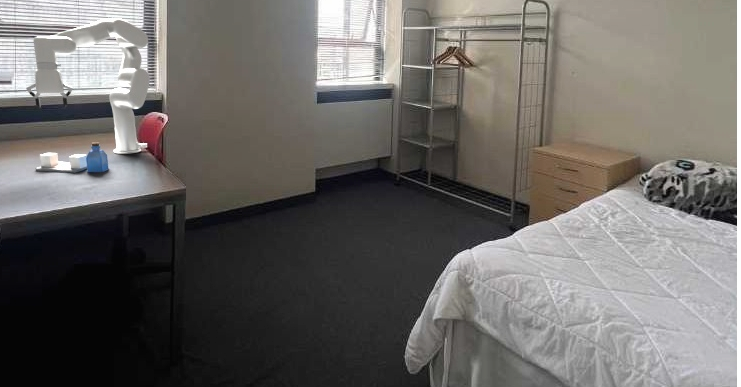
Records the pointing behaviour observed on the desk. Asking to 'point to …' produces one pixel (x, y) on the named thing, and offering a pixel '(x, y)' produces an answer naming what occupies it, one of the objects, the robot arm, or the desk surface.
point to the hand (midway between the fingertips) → (52, 107)
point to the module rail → (62, 163)
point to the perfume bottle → (96, 159)
